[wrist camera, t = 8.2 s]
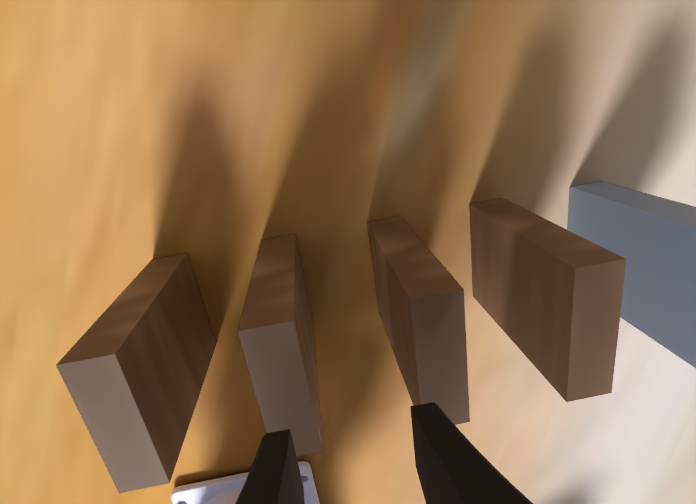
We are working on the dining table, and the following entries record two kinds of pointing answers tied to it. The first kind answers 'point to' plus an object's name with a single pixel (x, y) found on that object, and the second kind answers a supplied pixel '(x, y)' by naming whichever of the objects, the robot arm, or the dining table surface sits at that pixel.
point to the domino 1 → (143, 372)
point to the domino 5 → (646, 257)
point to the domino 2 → (282, 344)
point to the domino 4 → (549, 294)
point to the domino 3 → (421, 317)
